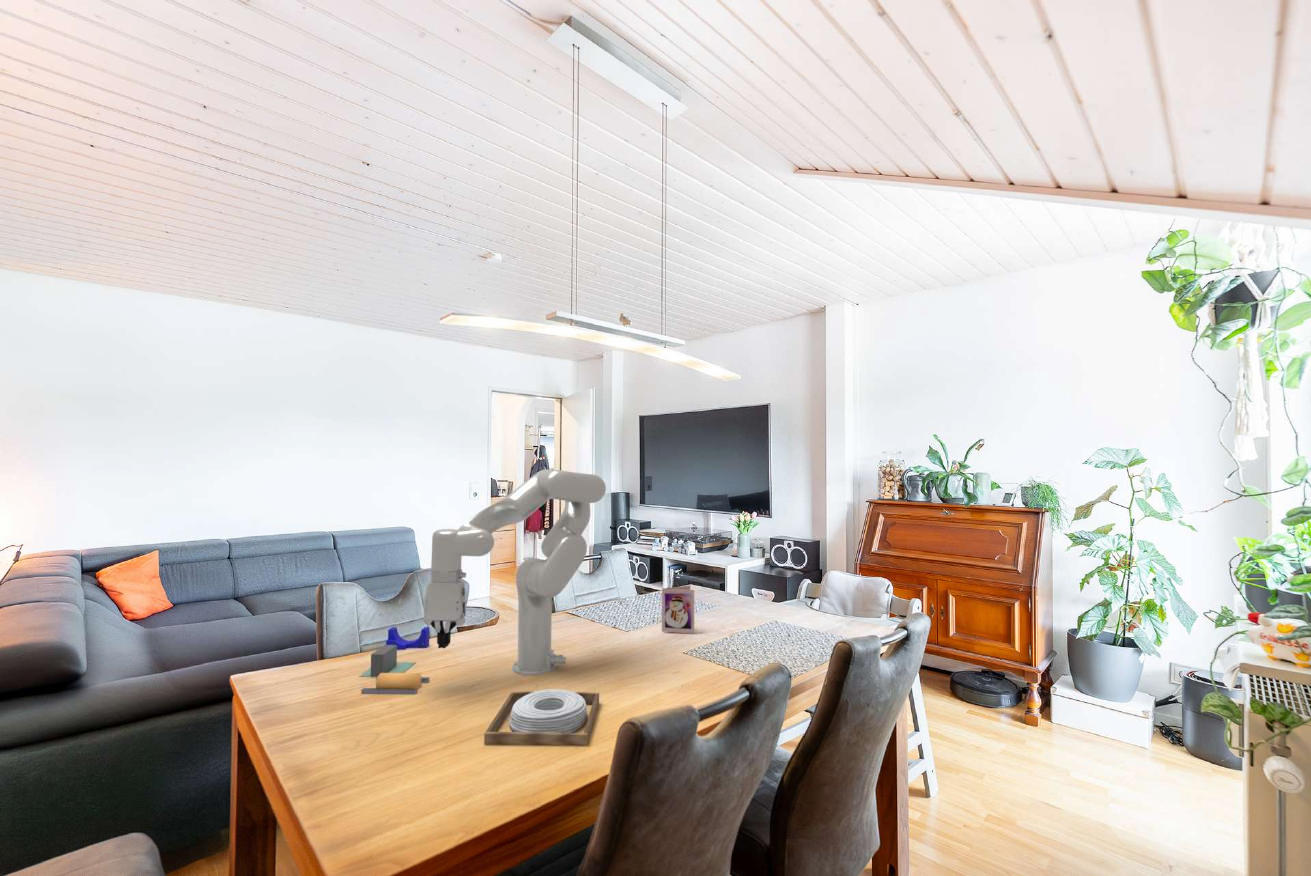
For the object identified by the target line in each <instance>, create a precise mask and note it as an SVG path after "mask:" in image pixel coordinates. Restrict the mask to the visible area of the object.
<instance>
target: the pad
mask: <svg viewBox="0 0 1311 876" xmlns="http://www.w3.org/2000/svg"><path fill="white" fill-rule="evenodd" d="M416 664H417V663H416V662H415V661H414V662H413V661H410V662H407V661H405V662H404V661H397V666H396V667H395V668H393V669H392V670H391V671H389V672H388V673H407V671H408V670H409V669H411V668H412V667H413V666H414V665H416ZM358 677H359V678H368V677H369V678H378V676H371V667H370V668H368V669H367V670H365V671H364V672H363V673H361V674H360V675H359V676H358Z"/></svg>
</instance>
